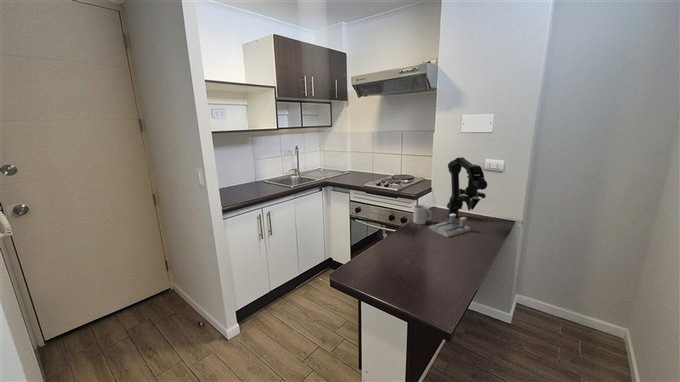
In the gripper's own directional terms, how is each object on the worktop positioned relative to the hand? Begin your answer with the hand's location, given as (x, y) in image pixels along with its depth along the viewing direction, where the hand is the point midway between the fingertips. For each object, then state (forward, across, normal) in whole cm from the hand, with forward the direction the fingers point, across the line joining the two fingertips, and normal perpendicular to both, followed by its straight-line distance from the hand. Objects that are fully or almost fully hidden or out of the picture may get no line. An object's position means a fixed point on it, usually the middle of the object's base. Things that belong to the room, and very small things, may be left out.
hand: (470, 209), depth 176 cm
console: (+12, +14, -4) cm, 18 cm away
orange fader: (+9, +6, 0) cm, 12 cm away
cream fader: (+9, +7, -8) cm, 14 cm away
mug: (+12, +18, -22) cm, 32 cm away
